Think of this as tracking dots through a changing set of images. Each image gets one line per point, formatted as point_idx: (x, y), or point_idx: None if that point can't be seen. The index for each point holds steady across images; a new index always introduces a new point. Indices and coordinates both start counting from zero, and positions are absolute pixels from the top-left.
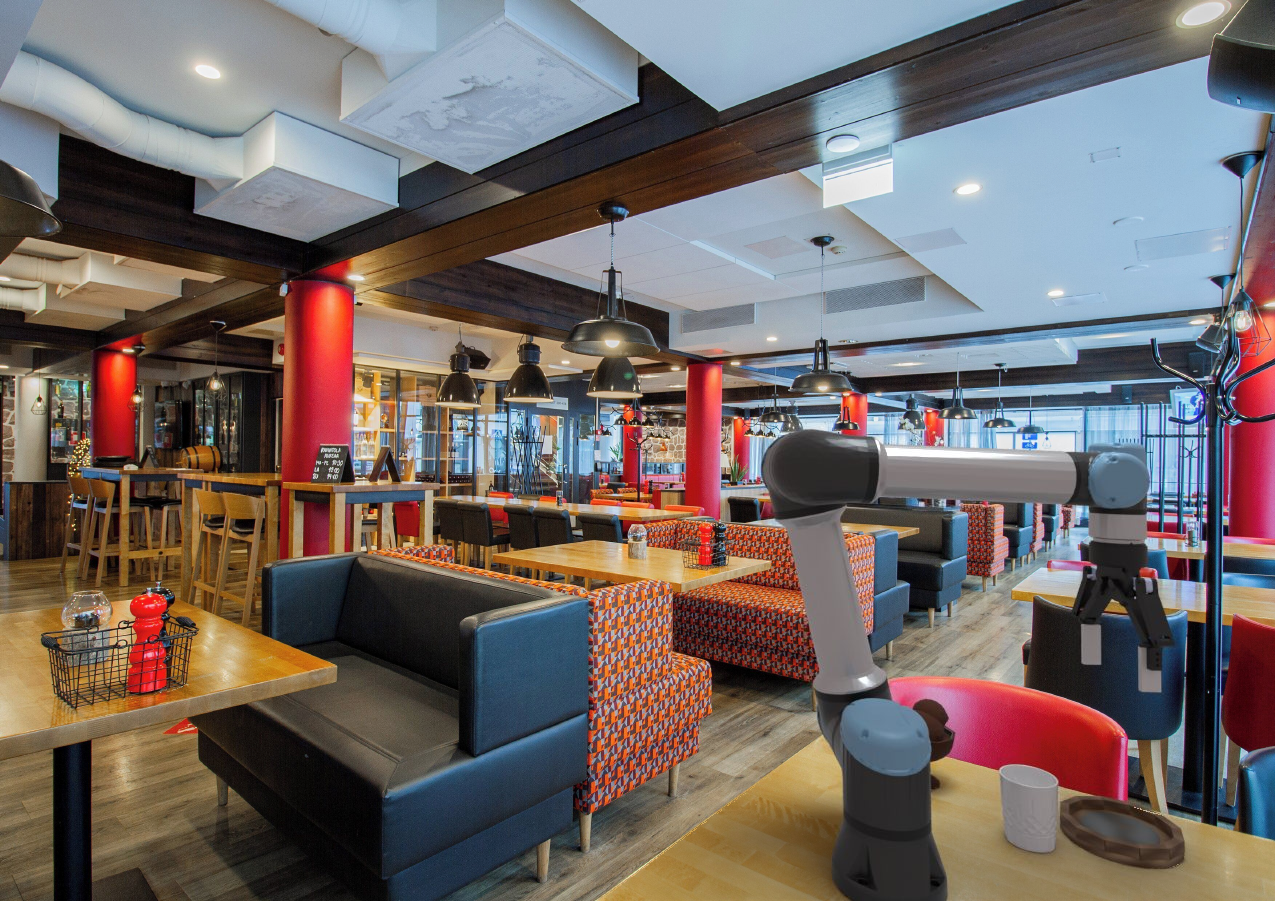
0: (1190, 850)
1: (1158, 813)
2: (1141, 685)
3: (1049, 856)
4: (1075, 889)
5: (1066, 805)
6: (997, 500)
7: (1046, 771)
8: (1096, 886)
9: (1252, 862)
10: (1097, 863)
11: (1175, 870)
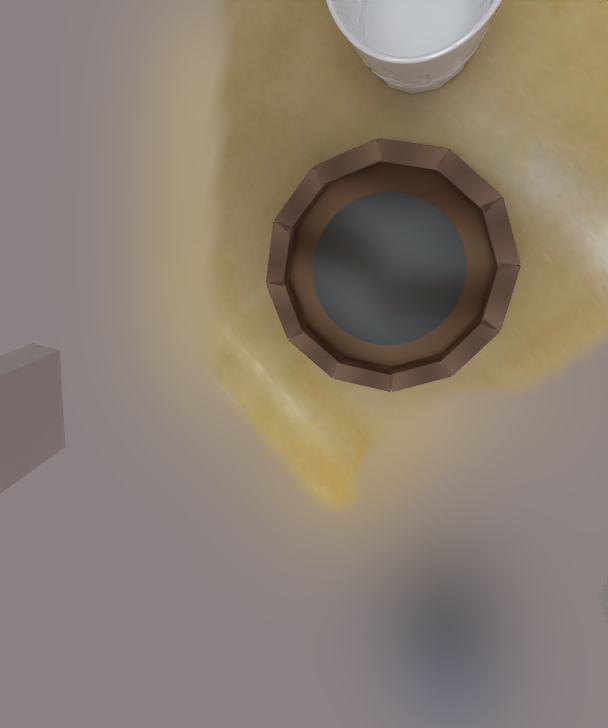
0: None
1: (394, 389)
2: (6, 355)
3: None
4: (232, 8)
5: (479, 197)
6: None
7: (431, 55)
8: (238, 68)
9: (280, 435)
10: (311, 137)
11: None
